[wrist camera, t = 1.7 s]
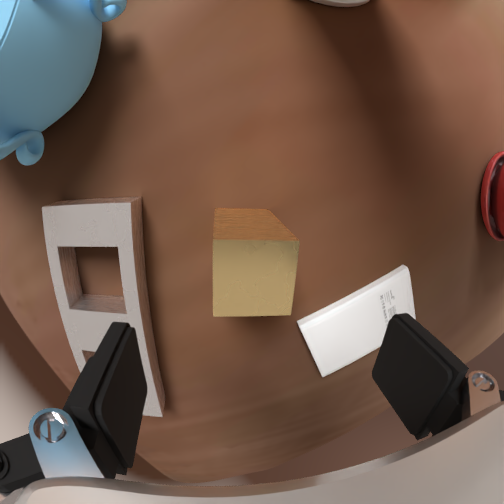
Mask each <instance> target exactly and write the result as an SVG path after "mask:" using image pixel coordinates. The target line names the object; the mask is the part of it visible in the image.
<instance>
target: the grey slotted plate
mask: <svg viewBox="0 0 504 504" xmlns="http://www.w3.org/2000/svg"><path fill="white" fill-rule="evenodd" d="M42 215H43V225H44V233H45V241H46V248H47V254H48V260H49V265H50V271H51V276H52V281H53V285H54V290H55V294H56V298H57V302H58V306H59V310H60V313H61V317H62V320H63V324H64V327H65V331H66V334H67V337H68V340H69V343H70V346H71V349H72V352H73V355H74V357H75V360H76V363H77V365H78V368H79V371H80V373H81V372H82V370H83V368H84V366H85V364H86V362H87V360H88V359H89V358H90V357H92V356H94V354H95V352H96V350H97V348H98V347H99V345H100V343H101V341H102V339H103V338H104V336H105V334H106V332H107V330H108V329H109V327H110V325H111V323H112V322H127V323H129V324H130V326H131V327H134V328H135V330H136V335H137V340H138V345H139V350H140V355H141V360H142V365H143V369H144V373H145V378H146V382H147V397H146V401H145V406H144V410H143V415H147V416H157V417H163V412H164V405H165V398H166V397H165V393H164V388H163V383H162V379H161V374H160V369H159V363H158V358H157V352H156V347H155V341H154V334H153V328H152V321H151V314H150V306H149V298H148V289H147V279H146V268H145V256H144V242H143V222H142V197H118V198H95V199H77V200H62V201H57V202H54V203H52V204H49V205H46V206H43V207H42ZM75 247H118V252H119V262H120V271H121V278H122V286H123V293H124V296H109V295H93V294H83V293H82V288H81V283H80V277H79V271H78V265H77V259H76V252H75Z"/></svg>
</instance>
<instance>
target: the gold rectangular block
mask: <svg viewBox="0 0 504 504" xmlns="http://www.w3.org/2000/svg"><path fill="white" fill-rule="evenodd" d="M298 251H299V240H298V239H297V238H296V237H295V236H294V235H293V234H292V233H291V232H290V231H289V230H288V229H287V228H286V227H285V226H284V225H283V224H282V223H281V222H280V221H279V220H278V219H277V218H276V217H275V216H274V215H273V214H272V213H271V212H270V211H269V210H268V209H242V208H215V216H214V232H213V316H278V315H291V310H292V302H293V294H294V286H295V278H296V269H297V260H298Z"/></svg>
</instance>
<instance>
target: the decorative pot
mask: <svg viewBox="0 0 504 504" xmlns="http://www.w3.org/2000/svg"><path fill="white" fill-rule="evenodd" d="M126 3H127V0H0V160H1V159H3V158H5V157H6V156H8V155H9V154H10V153H12V152H13V151H14V150H16V156H17V159H18V161H19V162H20V163H21V164H23V165H32V164H35V163H36V162H37V161H39V160H40V158H41V157H42V155H43V151H44V137H43V135H42V133H41V132H42V131H44V130H45V129H47V128H48V127H49V126H50V125H52V124H53V123H54V122H56V121H57V120H58V119H59V118H61V117H62V116H63V115H64V114H65V113H66V112H68V111H69V110H70V109H71V108H72V107H73V106H74V105H75V104H76V103H77V102H78V100H79V99H80V98H81V96H82V95H83V94H84V92H85V91H86V89H87V87H88V85H89V84H90V81H91V79H92V76H93V74H94V71H95V67H96V63H97V60H98V55H99V50H100V44H101V38H102V22H107V21H110V20H113V19H114V18H116V17H118V16H119V15H120V14H121V13H122V12H123V11H124V10H125V8H126Z"/></svg>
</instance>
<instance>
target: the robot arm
mask: <svg viewBox="0 0 504 504" xmlns="http://www.w3.org/2000/svg"><path fill="white" fill-rule="evenodd" d="M311 1H314V2H317V3H321V4H325V5H331V6H337V7H353V6H359V5H362V4H365V3H367V2H368V1H370V0H311ZM468 369H469V368H468V367H467V366H466V365H465V364H464V363H463V362H462V361H461V360H460V359H458V358H457V357H456V356H455V355H454V354H453V353H452V352H451V351H450V350H449V349H448V348H447V347H445V346H444V345H443V344H442V343H441V342H440V341H439V340H438V339H437V338H436V337H434V336H433V335H432V334H431V333H430V332H429V331H428V330H427V329H425V328H424V327H423V326H422V325H421V324H420V323H419V322H417V321H416V320H415V319H414V318H413V317H412V316H410V315H409V314H408V313H401V314H395V315H393V316H392V318H391V319H390V320H389V322H388V325H387V329H386V332H385V335H384V338H383V341H382V345H381V348H380V351H379V354H378V356H377V359H376V362H375V365H374V368H373V371H372V377H373V379H374V381H375V382H376V384H377V385H378V387H379V388H380V390H381V391H382V392H383V394H384V395H385V397H386V398H387V400H388V401H389V403H390V404H391V406H392V407H393V408H394V410H395V412H396V413H397V414H398V416H399V417H400V419H401V420H402V422H403V423H404V425H405V426H406V428H407V429H408V431H409V432H410V433H411V434H413V435H414V436H415V437H416V439H417V440H419V439H421V438H424V437H426V436H428V434H429V433H430V431H431V433H432V434H433V435H432V437H430V438H428V439H426V440H424V441H421V442H419V443H417V444H415V445H412V446H410V447H408V448H405V449H402V450H400V451H397V452H395V453H392V454H389V455H387V456H384V457H381V458H378V459H375V460H372V461H369V462H366V463H363V464H360V465H356V466H353V467H349V468H345V469H342V470H338V471H334V472H329V473H326V474H321V475H316V476H311V477H306V478H300V479H294V480H288V481H281V482H274V483H265V484H254V485H241V486H174V485H161V484H151V483H142V482H132V481H124V480H116V479H115V476H116V473H117V474H122V475H126V473H127V467H128V468H132V466H133V462H134V456H135V451H136V445H137V440H138V435H139V430H140V425H141V420H142V415H143V410H144V406H145V401H146V397H147V382H146V378H145V373H144V369H143V365H142V360H141V355H140V350H139V345H138V340H137V335H136V330H135V328H134V327H131V326H130V324H129V323H127V322H112V323H111V325H110V327H109V329H108V330H107V332H106V334H105V336H104V338H103V339H102V341H101V343H100V345H99V347H98V348H97V350H96V352H95V354H94V356H92V357H90V358H89V359H88V360H87V362H86V364H85V366H84V368H83V370H82V372H81V373H80V375H79V377H78V379H77V381H76V383H75V385H74V387H73V389H72V391H71V393H70V396H69V397H68V399H67V401H66V403H65V406H64V408H63V410H60V409H58V408H48V409H43V410H41V411H39V412H38V413H36V414H35V415H34V416H33V417H32V419H31V421H30V424H29V434H26V435H24V436H21V437H18V438H15V439H12V440H10V441H7V442H4V443H1V444H0V504H504V391H502V390H499V389H498V384H497V382H496V380H495V379H494V377H493V376H491V375H490V374H488V373H486V372H484V371H478V370H477V371H473V372H471V373H470V374H469V376H468V378H466V377H465V374H466V373H467V370H468Z"/></svg>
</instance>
